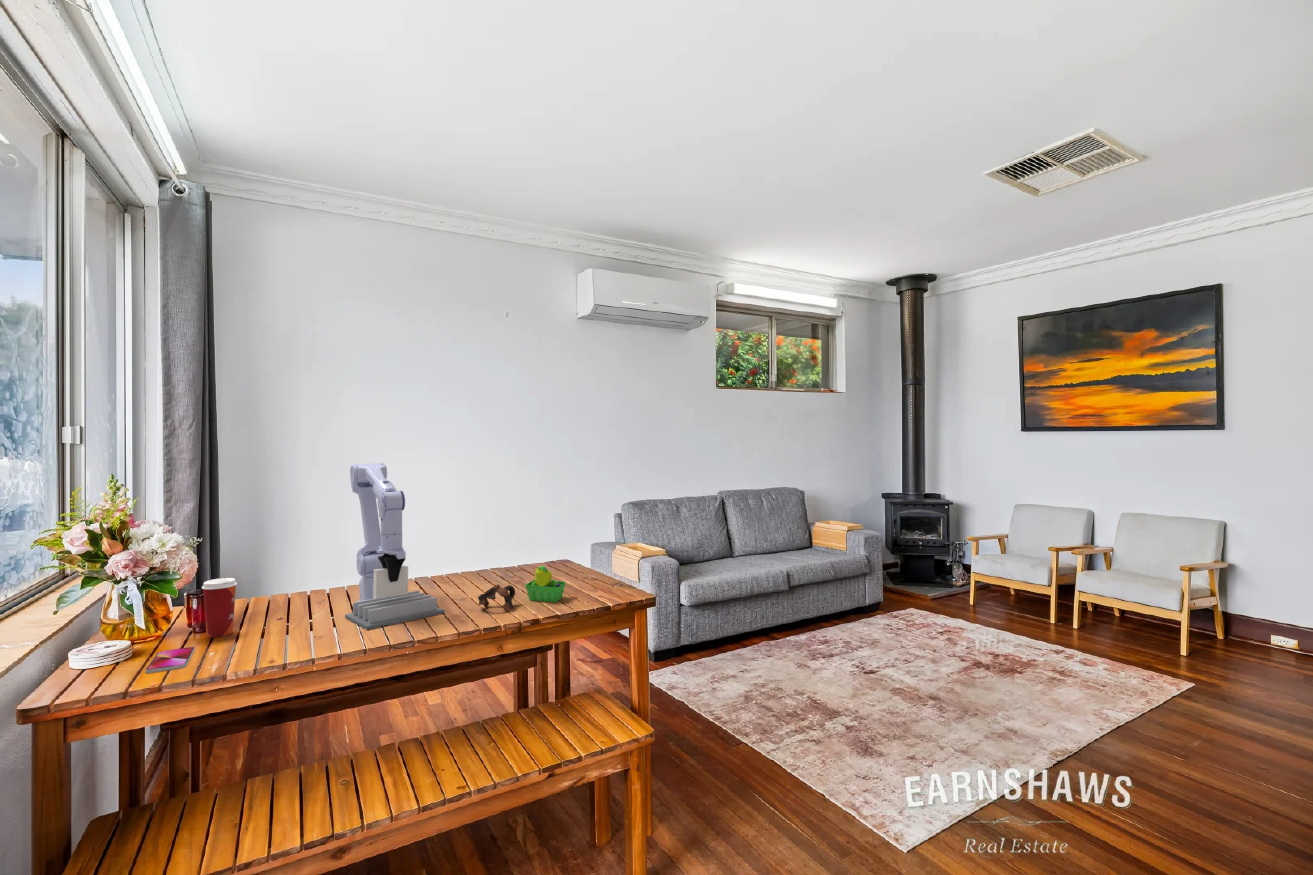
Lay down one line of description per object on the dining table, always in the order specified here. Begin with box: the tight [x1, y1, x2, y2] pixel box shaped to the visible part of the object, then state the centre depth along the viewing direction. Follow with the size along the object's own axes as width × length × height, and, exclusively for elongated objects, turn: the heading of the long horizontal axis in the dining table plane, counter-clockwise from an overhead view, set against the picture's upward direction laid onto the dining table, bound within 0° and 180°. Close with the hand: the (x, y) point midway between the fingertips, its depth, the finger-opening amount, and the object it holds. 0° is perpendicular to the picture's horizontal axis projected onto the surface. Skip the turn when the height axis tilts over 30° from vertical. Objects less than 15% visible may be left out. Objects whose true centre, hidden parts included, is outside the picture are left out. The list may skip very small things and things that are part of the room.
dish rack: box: [344, 590, 446, 631], centre depth 179 cm, size 16×22×4 cm
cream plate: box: [373, 565, 409, 599], centre depth 178 cm, size 2×9×8 cm, turn 135°
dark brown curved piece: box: [477, 584, 516, 613], centre depth 186 cm, size 12×10×8 cm
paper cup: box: [201, 577, 238, 638], centre depth 163 cm, size 8×8×14 cm
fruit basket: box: [524, 565, 567, 603], centre depth 195 cm, size 11×9×11 cm
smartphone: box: [144, 646, 196, 674], centre depth 144 cm, size 7×1×15 cm
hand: (391, 580), depth 178 cm, fingers closed on cream plate, 2 cm apart
